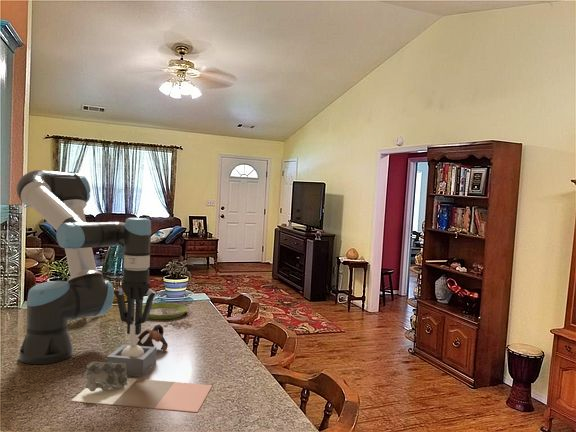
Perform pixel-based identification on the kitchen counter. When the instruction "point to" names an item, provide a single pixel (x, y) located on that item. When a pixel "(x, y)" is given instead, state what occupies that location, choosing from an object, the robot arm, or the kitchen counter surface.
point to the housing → (135, 360)
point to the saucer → (166, 305)
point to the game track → (150, 395)
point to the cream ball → (133, 351)
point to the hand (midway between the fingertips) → (133, 344)
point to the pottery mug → (153, 337)
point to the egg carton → (105, 375)
